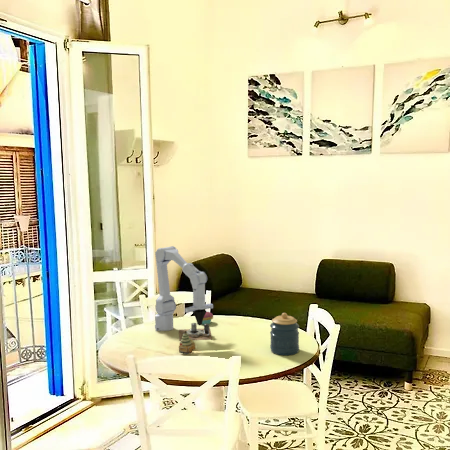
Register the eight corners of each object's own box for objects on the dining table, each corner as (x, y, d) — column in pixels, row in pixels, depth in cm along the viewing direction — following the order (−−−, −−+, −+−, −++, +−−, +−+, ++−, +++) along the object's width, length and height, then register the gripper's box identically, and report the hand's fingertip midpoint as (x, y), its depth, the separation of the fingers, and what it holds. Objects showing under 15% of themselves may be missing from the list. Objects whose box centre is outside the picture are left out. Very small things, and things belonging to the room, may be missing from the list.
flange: (183, 335, 240) (182, 324, 240) (190, 330, 247) (190, 319, 247) (205, 338, 235) (205, 326, 235) (212, 333, 242) (212, 322, 242)
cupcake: (195, 323, 264) (195, 302, 263) (209, 321, 267) (209, 300, 266) (201, 327, 256) (201, 305, 255) (216, 325, 260) (215, 303, 259)
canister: (280, 344, 229) (280, 307, 227) (304, 349, 220) (304, 312, 219) (264, 351, 219) (264, 313, 217) (289, 358, 210) (289, 318, 209)
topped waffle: (185, 347, 226) (184, 327, 225) (197, 349, 224) (196, 328, 223) (177, 353, 218) (176, 332, 218) (189, 355, 216) (189, 333, 215)
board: (179, 343, 233) (179, 341, 233) (179, 331, 250) (178, 329, 250) (212, 341, 234) (212, 339, 234) (209, 330, 252) (209, 328, 252)
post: (191, 335, 241) (191, 324, 240) (191, 333, 243) (191, 323, 243) (196, 335, 241) (196, 324, 241) (196, 333, 244) (196, 322, 243)
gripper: (189, 301, 227) (190, 329, 228) (216, 296, 235) (216, 324, 236) (182, 298, 233) (183, 325, 234) (208, 294, 241) (209, 320, 242)
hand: (199, 324), depth 236 cm, fingers closed
